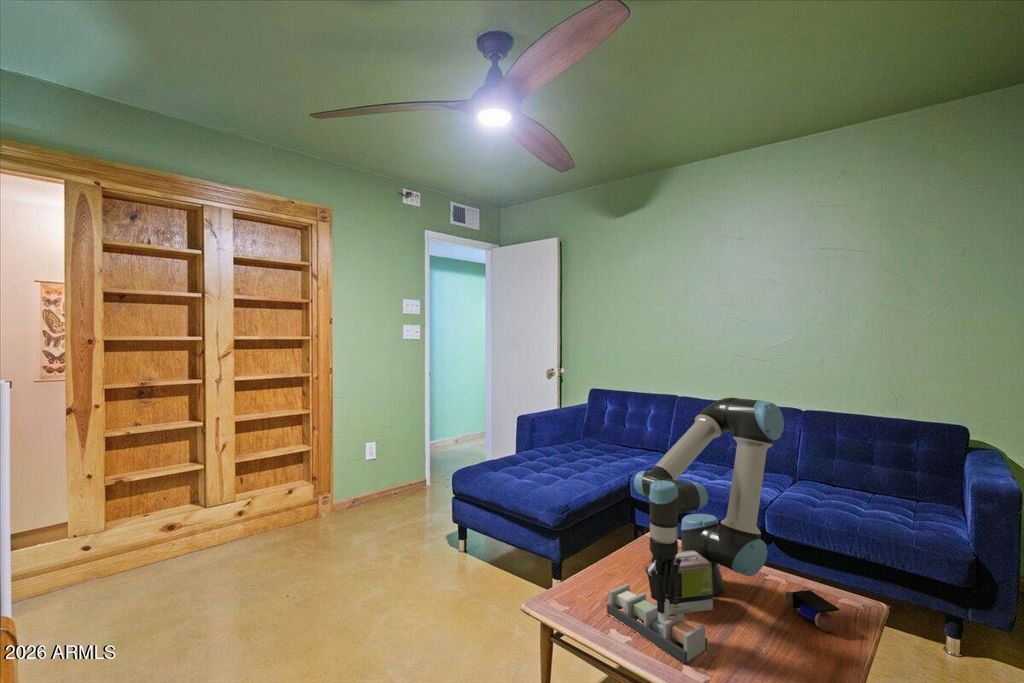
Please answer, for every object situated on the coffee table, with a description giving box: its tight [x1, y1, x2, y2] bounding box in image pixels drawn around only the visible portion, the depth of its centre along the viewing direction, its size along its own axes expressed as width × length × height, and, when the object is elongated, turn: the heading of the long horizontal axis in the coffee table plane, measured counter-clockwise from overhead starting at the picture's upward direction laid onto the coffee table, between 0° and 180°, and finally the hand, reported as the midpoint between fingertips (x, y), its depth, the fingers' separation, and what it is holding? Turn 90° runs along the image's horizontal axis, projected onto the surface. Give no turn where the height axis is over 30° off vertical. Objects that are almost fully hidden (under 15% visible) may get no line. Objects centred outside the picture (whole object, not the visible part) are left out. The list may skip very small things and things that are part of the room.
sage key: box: [633, 600, 655, 620], centre depth 137 cm, size 5×5×3 cm
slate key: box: [652, 619, 663, 636], centre depth 132 cm, size 5×5×3 cm
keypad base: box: [606, 583, 708, 665], centre depth 135 cm, size 10×27×7 cm, turn 35°
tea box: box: [669, 550, 714, 616], centre depth 148 cm, size 15×10×15 cm
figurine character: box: [784, 589, 840, 633], centre depth 140 cm, size 7×8×15 cm
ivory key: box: [616, 590, 637, 609], centre depth 143 cm, size 5×5×3 cm
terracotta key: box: [672, 621, 695, 644], centre depth 126 cm, size 5×5×3 cm
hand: (663, 622), depth 132 cm, fingers closed
